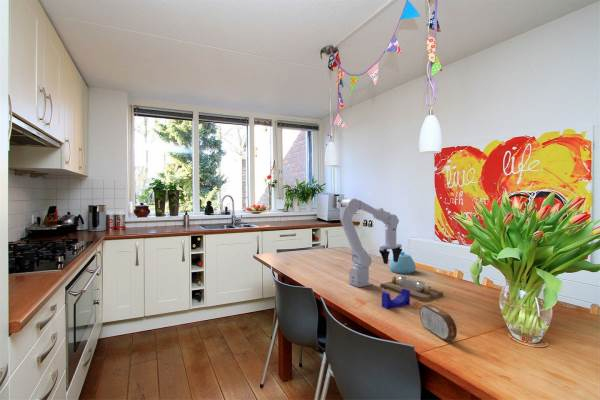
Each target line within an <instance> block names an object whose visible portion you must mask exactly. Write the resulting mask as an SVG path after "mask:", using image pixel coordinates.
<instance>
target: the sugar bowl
mask: <svg viewBox="0 0 600 400" xmlns="http://www.w3.org/2000/svg"><path fill="white" fill-rule="evenodd" d="M415 263H416V262H415V260H414V259H413V258H412V256H411V255H410V254H408V253H405V251H401V253H400V255H399V259H398V262H394V260H393V256H392V257H391V258H390V260H389V262H388V269H389V270H390V271H391V272H392V273H396V274H399V275H400V274H401V275H404V274H405V275H408V274H409V275H410V274H413V273H414V272H415V271H416V270H417V269H416V264H415Z"/></svg>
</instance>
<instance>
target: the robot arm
mask: <svg viewBox="0 0 600 400" xmlns="http://www.w3.org/2000/svg"><path fill="white" fill-rule="evenodd" d="M338 207H339V220H340V224H341V226H342V228H343V231H344V233H345V236H346V237H347V241H348V243H349V246H350V248H351V251H350V254H351V259H352V260H351V261H352V262H353V267H352V268H350V270H349V277H348V278H349V282H347V283H348V284H350V285H352V286H354V287H356V288H357V287H358V288H361V287H365V286H366V287H367V286H370V285H373V282H370V281H369V280H370V278H369V277H370V276H369V275H370V271H369V269H370V266H371V264H372V258H371V256H370V255H369V254H368V252H367V251H366V250H365V248H364V247H363V245H362V241H361V240H360V237H359V235H358V232H357V230H356V227H355V225H354V223H353V217H354V215H355V214H356V213H357V212H358V211H359V210H360V211H361V210H362V211H364V212H366V213H369V214H371V215H372V216H373V219H376V220H377V221H380V222H382V223H383V224H384V245H380V246H379V249H378V251H379V253H380V255H381V257H382V261H383V264H385V265H389V255H390V252H391V251H392V257H393V260H394V262H398V259H399V255H400V253H401V252H403V248H402V244H401V243H397V228H398V224H399V222H400V219H399V217H398V216H397V215H396V214H391V212H390V211H386V210H384V208H383V207H377V208H375V207H373V206H371V205H370V204H368V203H365V202H364V201H362V200H361V199H360V200H359V199H357V198H343V199H342V200H341V202H340V204H339V206H338ZM390 250H391V251H390Z"/></svg>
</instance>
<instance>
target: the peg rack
mask: <svg viewBox="0 0 600 400" xmlns="http://www.w3.org/2000/svg"><path fill="white" fill-rule="evenodd" d="M379 286H380V288H382V289H385V290H388V291H390V292H394V293H397V294H398V295H401V292H402V289H407V290H410V299H411V298H412V299H415V300H417V301H420V302H422V303H423V302H426V301H430V300H433V299H436V298H440V297H443V296H444V292H443V291H439V290H436V289H433V288H431V286H429V285H427V286H426V285H425V292H423V293H421V292H417V291H414V290H411V289H408V288H405V287H401V286H399V279H397V276H391V281H388V282H382V283H380V285H379Z"/></svg>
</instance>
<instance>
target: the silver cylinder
mask: <svg viewBox="0 0 600 400" xmlns="http://www.w3.org/2000/svg"><path fill="white" fill-rule="evenodd" d="M398 280H399V286H401V287H405V288H408V289H411V290H414V291H417V292H421V293H423V292H425V287H426V282H424V281H422V280H417V279H414V278H410V277H407V276H398Z"/></svg>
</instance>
